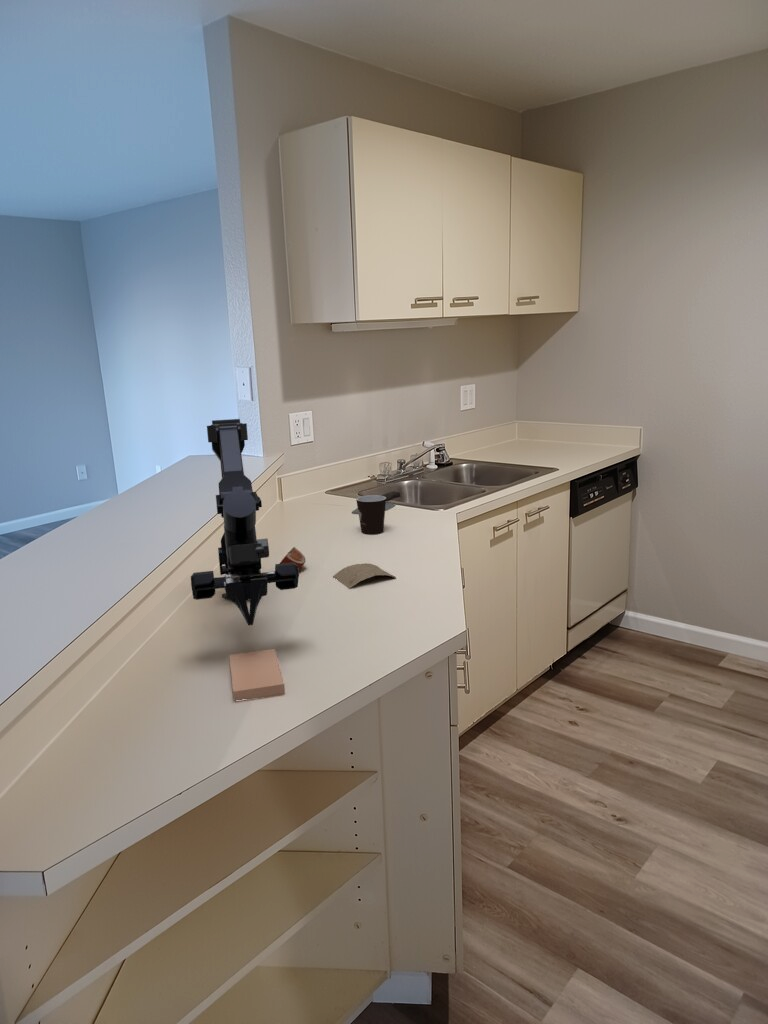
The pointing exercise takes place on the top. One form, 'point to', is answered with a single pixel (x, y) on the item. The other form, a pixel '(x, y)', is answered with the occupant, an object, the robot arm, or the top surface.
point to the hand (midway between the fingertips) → (250, 624)
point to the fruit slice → (294, 557)
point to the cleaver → (388, 497)
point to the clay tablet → (358, 574)
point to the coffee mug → (371, 513)
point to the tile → (256, 675)
